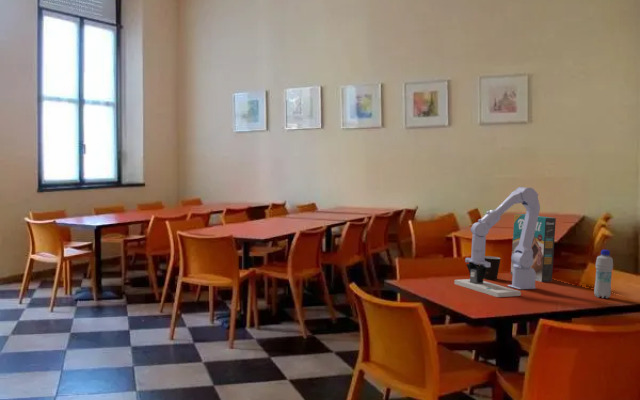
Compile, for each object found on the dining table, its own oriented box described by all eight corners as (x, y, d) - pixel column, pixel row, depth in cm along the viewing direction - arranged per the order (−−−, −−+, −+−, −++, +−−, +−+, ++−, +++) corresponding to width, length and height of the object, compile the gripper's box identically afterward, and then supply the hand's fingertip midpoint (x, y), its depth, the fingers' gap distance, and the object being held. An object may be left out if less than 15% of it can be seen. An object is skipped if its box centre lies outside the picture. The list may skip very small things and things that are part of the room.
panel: (476, 282, 278) (476, 278, 277) (520, 295, 252) (520, 290, 252) (454, 283, 272) (454, 279, 272) (497, 297, 247) (497, 292, 247)
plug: (476, 285, 271) (477, 268, 270) (482, 287, 267) (483, 270, 267) (468, 286, 269) (469, 269, 269) (474, 287, 265) (475, 270, 265)
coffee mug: (501, 280, 286) (502, 259, 286) (483, 279, 286) (484, 258, 286) (494, 276, 298) (496, 255, 297) (476, 275, 298) (478, 254, 297)
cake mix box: (510, 273, 308) (514, 213, 306) (520, 273, 310) (524, 214, 309) (541, 281, 288) (545, 218, 286) (551, 281, 290) (555, 218, 288)
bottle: (609, 296, 259) (613, 249, 258) (611, 299, 252) (615, 251, 251) (592, 294, 261) (595, 248, 260) (594, 297, 255) (597, 249, 253)
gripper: (460, 247, 272) (458, 278, 273) (482, 252, 259) (480, 284, 260) (473, 247, 275) (471, 277, 276) (495, 252, 262) (493, 284, 263)
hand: (476, 281), depth 268 cm, fingers closed on plug, 4 cm apart
